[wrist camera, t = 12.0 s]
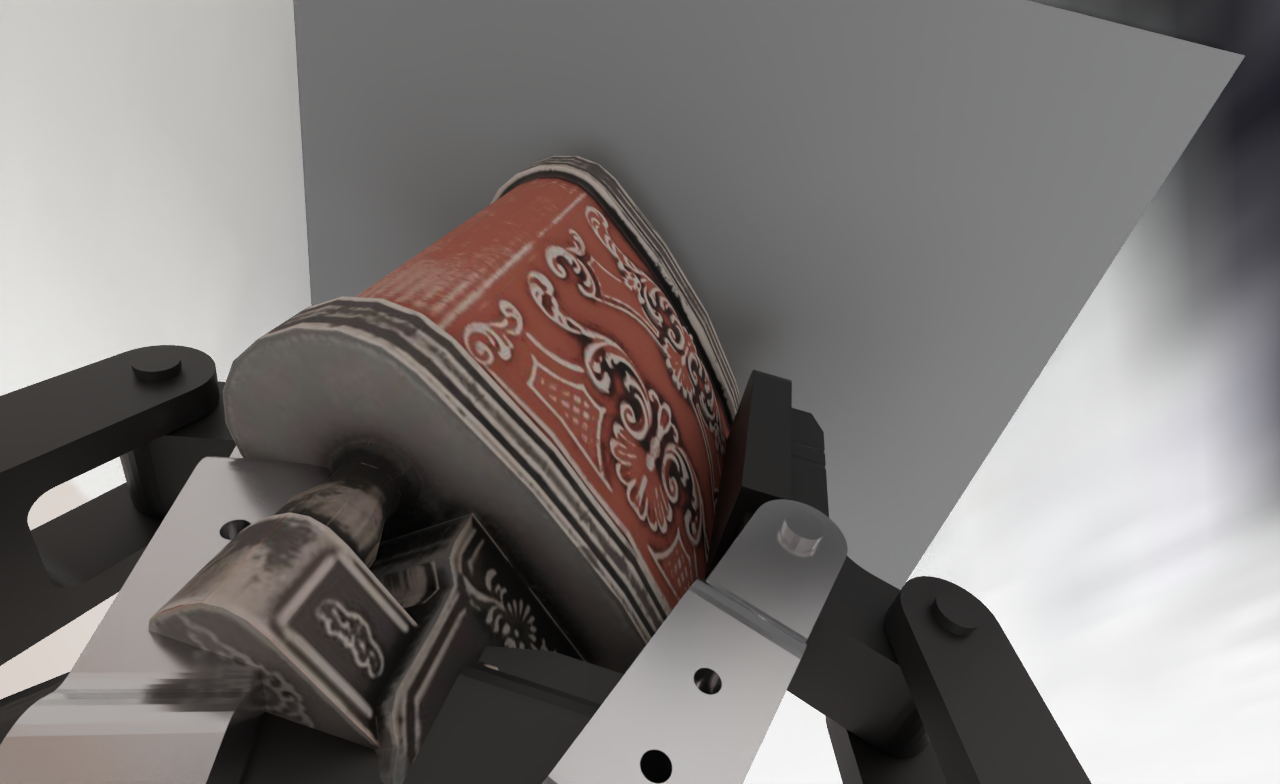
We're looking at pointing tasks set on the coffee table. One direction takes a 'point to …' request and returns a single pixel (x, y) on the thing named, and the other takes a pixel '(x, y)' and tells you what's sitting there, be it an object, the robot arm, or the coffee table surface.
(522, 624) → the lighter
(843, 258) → the rubber mat
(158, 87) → the coffee table surface
